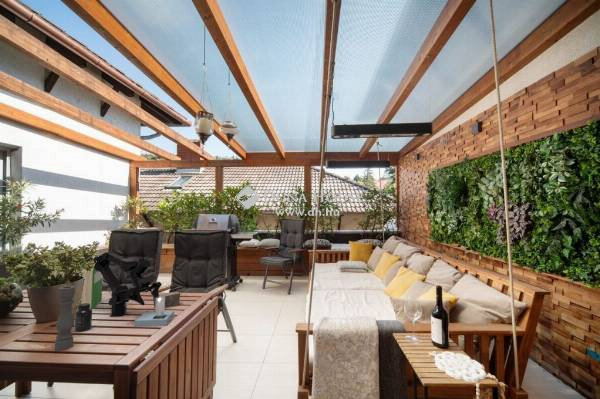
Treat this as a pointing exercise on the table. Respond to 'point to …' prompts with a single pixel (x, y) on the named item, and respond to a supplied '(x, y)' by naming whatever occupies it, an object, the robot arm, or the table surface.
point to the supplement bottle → (83, 317)
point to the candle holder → (65, 319)
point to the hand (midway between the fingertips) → (151, 302)
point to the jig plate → (153, 319)
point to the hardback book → (92, 288)
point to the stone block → (170, 299)
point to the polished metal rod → (159, 307)
